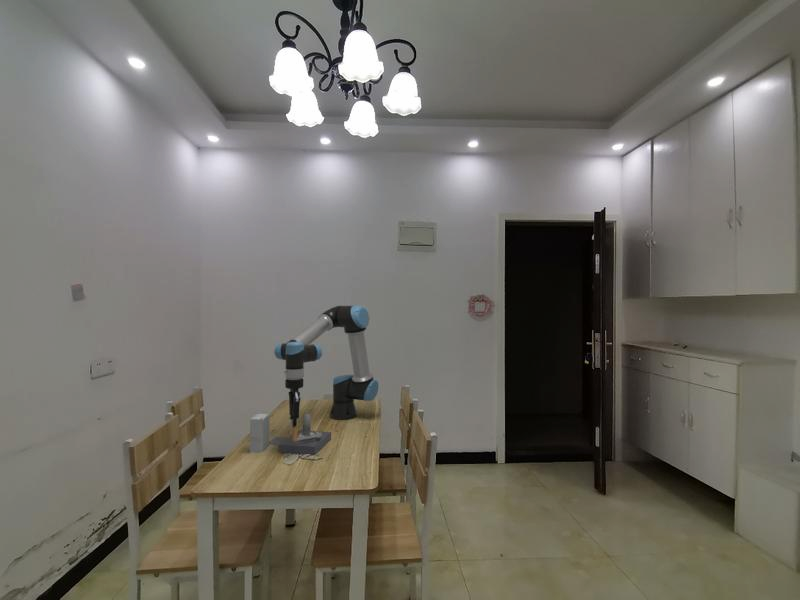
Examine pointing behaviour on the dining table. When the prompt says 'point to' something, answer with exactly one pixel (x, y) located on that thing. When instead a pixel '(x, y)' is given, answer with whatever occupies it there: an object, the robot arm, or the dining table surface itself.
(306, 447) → the socket block
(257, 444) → the skincare box
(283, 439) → the pad
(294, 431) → the clip
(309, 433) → the plug
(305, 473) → the dining table surface
